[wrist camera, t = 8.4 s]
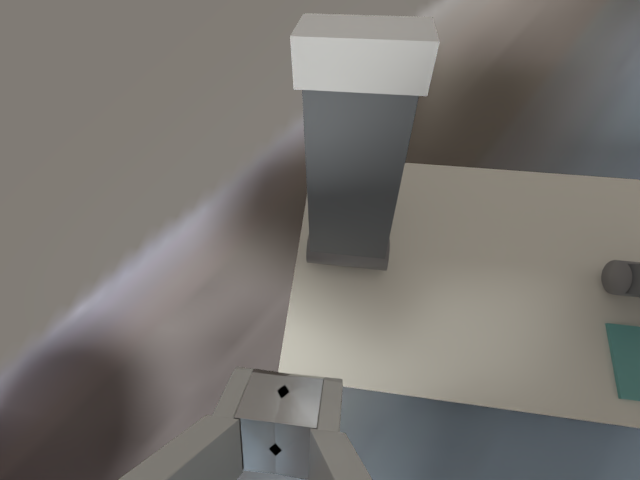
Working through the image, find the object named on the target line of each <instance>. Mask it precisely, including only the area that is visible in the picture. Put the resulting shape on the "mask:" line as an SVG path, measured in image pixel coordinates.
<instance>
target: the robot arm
mask: <svg viewBox="0 0 640 480" xmlns="http://www.w3.org/2000/svg"><path fill="white" fill-rule="evenodd" d="M342 387H343V380H342V379H338V378H329V377H319V376H310V375H300V374H291V373H289V374H288V373H281V372H274V371H267V370H260V369H251V368H244V367H236V368H235V370H234V371H233V373H232V375H231V377H230V379H229V381H228V383H227V385H226V387H225V389H224V391H223V394H222V396H221V398H220V400H219V402H218V404H217V406H216V408H215V410H214V412H213V415H206V416H204V417H203V418H202V419H200V420H199V421H198V422H196V423H195V424H194V425H192V426H191V427H189V428H188V429H187V430H185V431H184V432H183V433H181V434H180V435H178V436H177V437H176V438H174V439H173V440H172V441H170V442H169V443H168V444H166V445H165V446H163V447H162V448H161V449H159V450H158V451H157V452H155V453H154V454H153V455H151V456H150V457H148V458H147V459H146V460H144V461H143V462H142V463H140V464H139V465H137V466H136V467H135V468H133V469H132V470H131V471H129V472H128V473H127V474H125V475H124V476H122V477H121V478H120V479H118V480H237V479H238V478H239V476H240V475H241V474H242V473H243V470H244V471H253V472H262V473H271V474H278V475H284V476H290V477H295V478H301V479H307V480H372V478H371V476H370V475H369V473H368V471H367V470H366V468H365V466H364V464H363V463H362V461H361V459H360V458H359V456H358V454H357V452H356V451H355V449H354V447H353V446H352V444H351V442H350V440H349V439H348V437H347V435H346V433H341V432H340V418H341V403H342Z"/></svg>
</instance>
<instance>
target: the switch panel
mask: <svg viewBox="0 0 640 480" xmlns="http://www.w3.org/2000/svg"><path fill="white" fill-rule="evenodd" d="M308 235H309V219H308V199H307V198H306V204H305V210H304V216H303V222H302V229H301V235H300V241H299V247H298V253H297V259H296V265H295V272H294V278H293V284H292V290H291V296H290V302H289V308H288V315H287V321H286V327H285V333H284V339H283V345H282V351H281V357H280V364H279V370H278V372H281V373H288V374H289V373H291V374H300V375H310V376H319V377H329V378H338V379H342V380H343V387H350V388H357V389H364V390H371V391H378V392H385V393H392V394H399V395H407V396H414V397H421V398H428V399H435V400H442V401H449V402H456V403H463V404H470V405H477V406H485V407H492V408H499V409H506V410H513V411H520V412H527V413H534V414H541V415H548V416H555V417H562V418H570V419H577V420H584V421H591V422H598V423H605V424H612V425H619V426H626V427H633V428H640V297H630V296H621V295H612V294H609V293H608V292H607V291H606V290H605V289H604V287H603V285H602V281H601V274H602V270H603V268H604V266H605V265H606V264H607V263H608V262H609V261H612V260H621V261H632V262H640V180H637V179H624V178H610V177H596V176H582V175H568V174H554V173H541V172H527V171H513V170H499V169H485V168H472V167H458V166H444V165H430V164H416V163H405V165H404V170H403V174H402V179H401V184H400V189H399V194H398V198H397V203H396V208H395V213H394V218H393V222H392V227H391V232H390V237H389V239H390V252H389V261H388V267H387V270H386V271H383V270H374V269H364V268H355V267H345V266H336V265H326V264H317V263H307V261H306V250H307V241H308Z"/></svg>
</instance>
